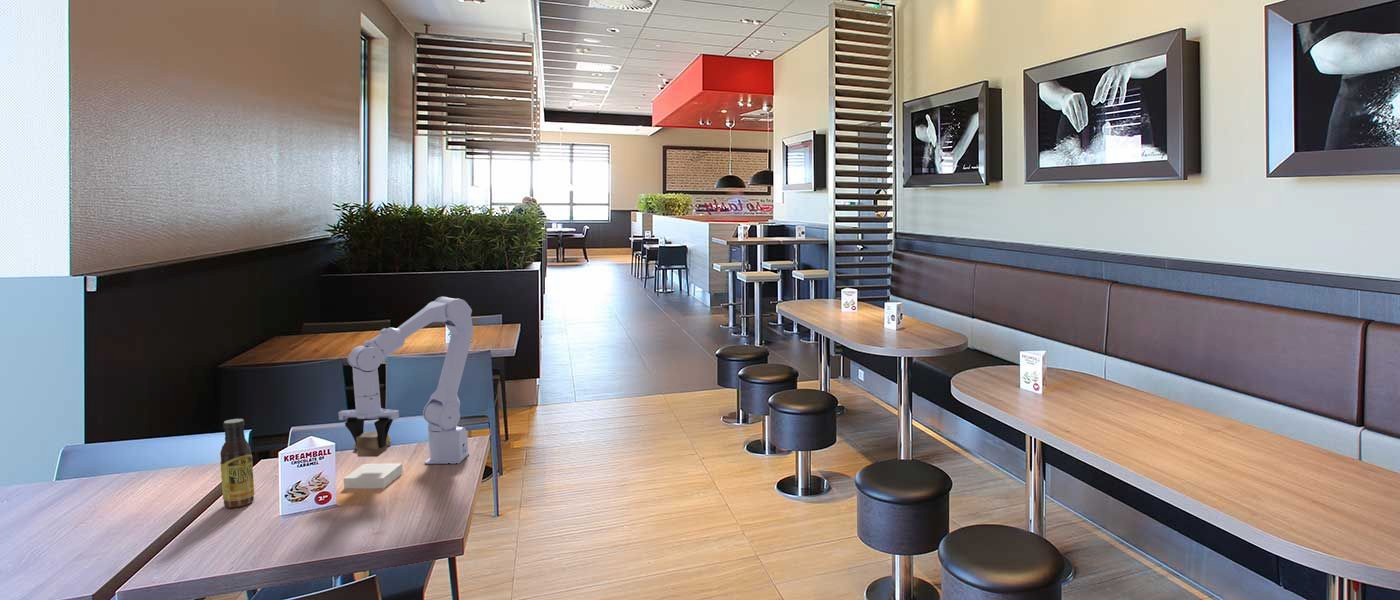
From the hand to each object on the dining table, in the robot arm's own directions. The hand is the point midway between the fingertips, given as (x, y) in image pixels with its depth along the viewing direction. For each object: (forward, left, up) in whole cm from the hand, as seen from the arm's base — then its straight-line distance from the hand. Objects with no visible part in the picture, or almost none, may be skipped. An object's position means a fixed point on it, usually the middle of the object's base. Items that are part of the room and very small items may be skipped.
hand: (371, 446), depth 180 cm
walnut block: (0, 0, -2) cm, 2 cm away
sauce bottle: (+24, +15, -9) cm, 30 cm away
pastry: (+12, -25, -9) cm, 30 cm away
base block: (-1, +1, -9) cm, 9 cm away
